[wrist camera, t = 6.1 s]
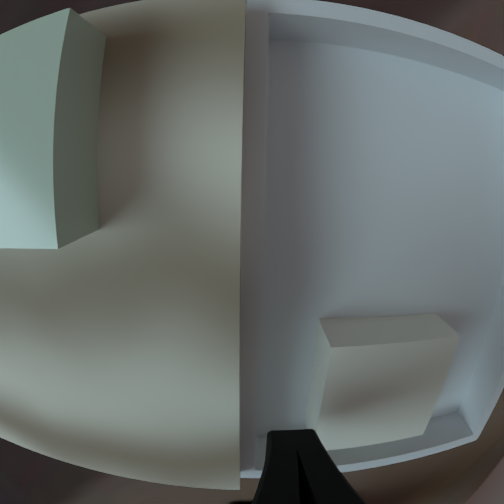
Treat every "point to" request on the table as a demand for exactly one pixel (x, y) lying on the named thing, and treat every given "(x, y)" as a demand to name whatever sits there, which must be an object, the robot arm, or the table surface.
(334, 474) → the robot arm
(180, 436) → the bench board
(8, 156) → the tile sage
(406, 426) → the tile cream
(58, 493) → the table surface
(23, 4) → the table surface
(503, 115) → the box
